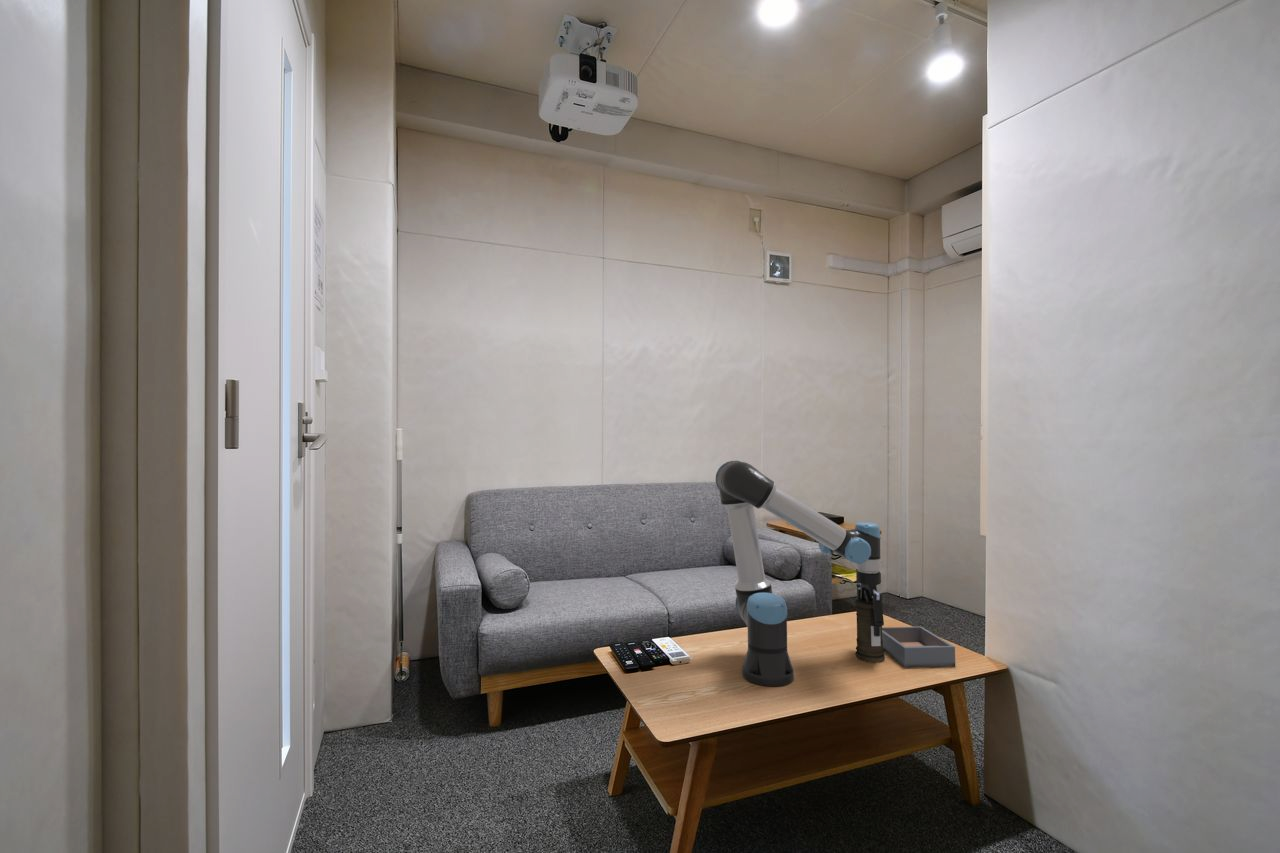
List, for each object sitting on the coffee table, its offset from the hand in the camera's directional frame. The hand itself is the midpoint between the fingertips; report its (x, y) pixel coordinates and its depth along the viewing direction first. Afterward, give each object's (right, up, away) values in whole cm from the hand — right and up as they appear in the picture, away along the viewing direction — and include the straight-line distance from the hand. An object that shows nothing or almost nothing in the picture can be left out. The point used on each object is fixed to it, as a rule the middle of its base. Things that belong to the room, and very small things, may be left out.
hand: (869, 640), depth 187 cm
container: (0, -6, 0) cm, 6 cm away
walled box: (+15, -5, +1) cm, 16 cm away
